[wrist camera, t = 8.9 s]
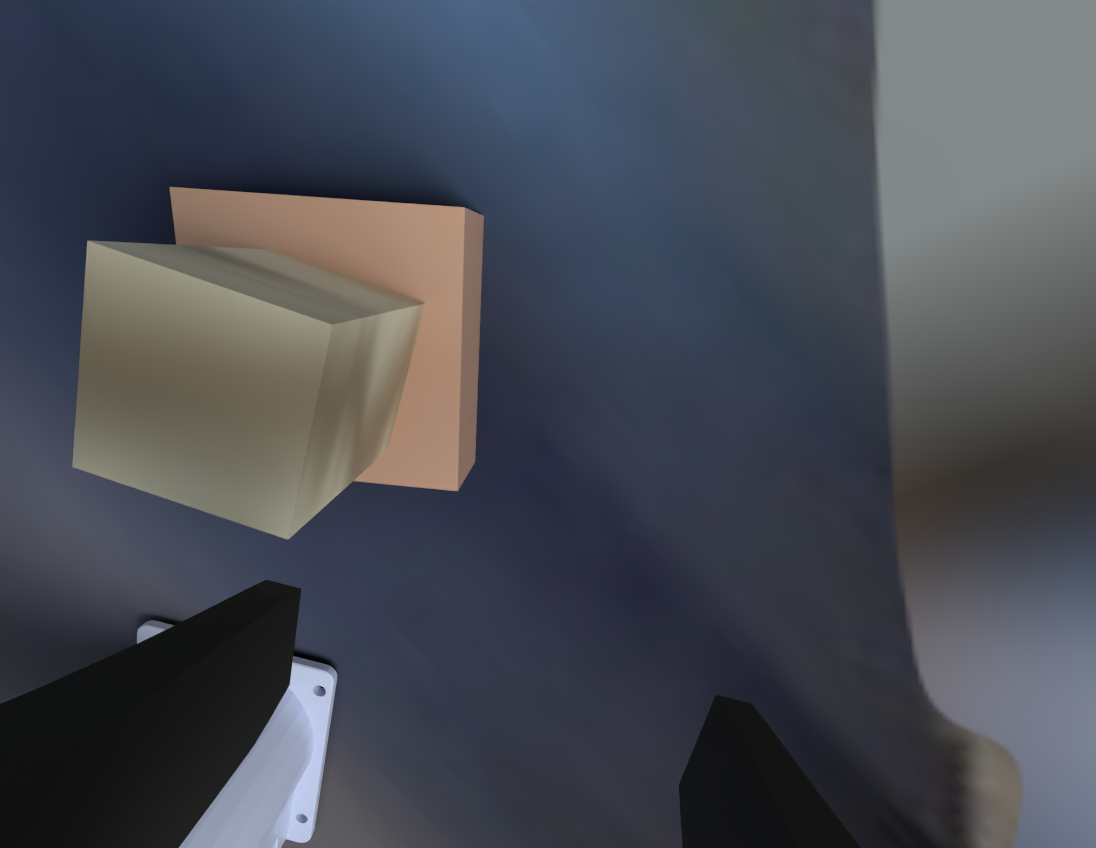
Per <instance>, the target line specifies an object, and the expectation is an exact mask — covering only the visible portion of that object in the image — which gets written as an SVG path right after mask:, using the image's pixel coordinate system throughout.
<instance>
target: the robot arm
mask: <svg viewBox="0 0 1096 848" xmlns="http://www.w3.org/2000/svg"><path fill="white" fill-rule="evenodd" d="M300 594H301V589H300V588H296V587H292V586H288V585H285V584H281V583H277V582H273V581H269V580H265V581H263V582H261V583H259V584H257V585H254V586H252V587H250V588H248V589H246V590H244V591H242V592H240V593H238V594H236V595H234V596H232V597H230V598H228V599H226V600H224V601H222V602H220V603H218V604H216V605H215V606H213V607H211V608H209V609H207V610H205V611H203V612H201V613H199V614H197V615H195V616H193V617H191V618H189V619H187V620H185V621H183V622H181V623H179V624H177V625H171V624H167V623H163V622H159V621H154V620H150V621H147V622H145V623H144V624H143V625H142V626H141V627H140V628H139V629H138V631H137V644H136V645H134V646H132V647H129V648H127V649H125V650H123V651H121V652H118V653H116V654H114V655H112V656H110V657H107V658H105V659H103V660H101V661H98V662H96V663H94V664H92V665H89V666H87V667H85V668H83V669H81V670H78V671H76V672H74V673H72V674H69V675H67V676H65V677H63V678H60V679H58V680H56V681H54V682H52V683H49V684H47V685H45V686H43V687H40V688H38V689H36V690H33V691H31V692H28V693H26V694H24V695H21V696H19V697H16V698H14V699H11V700H9V701H7V702H4V703H2V704H0V848H281V847H282V845H283V843H284V841H285V839H288V840H292V841H295V842H301V843H303V842H307V841H308V840H310V838H311V836H312V834H313V832H314V829H315V823H316V816H317V809H318V803H319V796H320V789H321V783H322V776H323V769H324V763H325V756H326V749H327V742H328V736H329V729H330V722H331V716H332V709H333V702H334V696H335V689H336V682H337V673H336V671H335V670H334V669H333V668H332V667H331V666H329V665H326V664H323V663H319V662H315V661H311V660H307V659H303V658H299V657H295V656H293V653H294V645H295V636H296V628H297V619H298V611H299V602H300ZM320 686H322V687H324V689H323V688H321V687H320ZM679 795H680V814H681V830H682V843H683V848H861V847H860V846H859V845H858V843H857V842H856V841H855V840H854V838H853V837H852V836H851V834H850V833H849V832H848V831H847V829H846V828H845V827H844V825H843V824H842V823H841V821H840V820H839V819H838V818H837V816H836V815H835V814H834V812H833V811H832V810H831V808H830V807H829V806H828V805H827V803H826V802H825V801H824V799H823V798H822V797H821V795H820V794H819V793H818V791H817V790H816V789H815V787H814V786H813V785H812V783H811V782H810V781H809V779H808V778H807V777H806V775H805V774H804V773H803V771H802V770H801V768H800V767H799V766H798V764H797V763H796V762H795V760H794V759H793V758H792V756H791V755H790V754H789V752H788V751H787V750H786V748H785V747H784V746H783V744H782V743H781V742H780V740H779V739H778V738H777V736H776V735H775V734H774V732H773V731H772V730H771V728H770V727H769V726H768V724H767V723H766V722H765V720H764V719H763V718H762V716H761V715H760V714H759V713H758V711H757V710H756V709H755V708H754V706H753V705H752V704H750V703H746V702H742V701H738V700H735V699H731V698H727V697H723V696H719V695H716V696H715V698H714V701H713V703H712V706H711V708H710V711H709V713H708V715H707V718H706V720H705V723H704V725H703V728H702V730H701V732H700V735H699V737H698V740H697V742H696V745H695V747H694V750H693V752H692V754H691V757H690V759H689V762H688V764H687V767H686V769H685V771H684V774H683V776H682V779H681V781H680V784H679Z"/></svg>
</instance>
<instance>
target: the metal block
mask: <svg viewBox="0 0 1096 848" xmlns="http://www.w3.org/2000/svg"><path fill="white" fill-rule="evenodd" d="M424 307H425V303H422V302H419V301H416V300H414V299H411V298H408V297H405V296H402V295H399V294H396V293H393V292H390V291H388V290H385V289H382V288H379V287H376V286H373V285H370V284H367V283H364V282H362V281H359V280H356V279H353V278H350V277H347V276H344V275H341V274H338V273H336V272H333V271H330V270H327V269H324V268H321V267H318V266H315V265H312V264H310V263H307V262H304V261H301V260H298V259H295V258H292V257H289V256H286V255H284V254H281V253H278V252H275V251H272V250H269V249H253V248H232V247H212V246H191V245H170V244H149V243H129V242H108V241H87V255H86V270H85V285H84V300H83V315H82V330H81V345H80V360H79V375H78V390H77V405H76V421H75V436H74V451H73V466H72V467H74V468H77V469H80V470H83V471H86V472H89V473H92V474H95V475H98V476H101V477H104V478H107V479H109V480H112V481H115V482H118V483H121V484H124V485H127V486H130V487H133V488H136V489H139V490H142V491H145V492H148V493H151V494H154V495H157V496H160V497H163V498H166V499H169V500H172V501H175V502H178V503H181V504H184V505H187V506H190V507H193V508H196V509H199V510H201V511H204V512H207V513H210V514H213V515H216V516H219V517H222V518H225V519H228V520H231V521H234V522H237V523H240V524H243V525H246V526H249V527H252V528H255V529H258V530H261V531H264V532H267V533H270V534H273V535H276V536H279V537H282V538H285V539H289V538H290V537H291V536H293V535H294V534H295V533H296V532H297V531H298V530H299V529H300V528H301V527H303V526H304V525H305V524H306V523H307V522H308V521H309V520H310V519H311V518H313V517H314V516H315V515H316V514H317V513H318V512H319V511H320V510H321V509H323V508H324V507H325V506H326V505H327V504H328V503H329V502H330V501H331V500H333V499H334V498H335V497H336V496H337V495H338V494H339V493H340V492H341V491H343V490H344V489H345V488H346V487H347V486H348V485H349V484H350V483H351V482H353V481H354V480H355V479H356V478H357V477H358V476H359V475H360V474H361V473H363V472H364V471H365V470H366V469H367V468H368V467H369V466H370V465H371V464H373V463H374V462H375V461H376V460H377V459H378V458H379V457H380V456H381V455H383V454H384V453H385V452H386V451H387V450H388V447H389V443H390V439H391V435H392V431H393V427H394V423H395V419H396V416H397V412H398V408H399V404H400V400H401V396H402V392H403V388H404V384H405V381H406V377H407V373H408V369H409V365H410V361H411V357H412V353H413V349H414V346H415V342H416V338H417V334H418V330H419V326H420V322H421V318H422V314H423V311H424Z"/></svg>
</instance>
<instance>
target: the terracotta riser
mask: <svg viewBox="0 0 1096 848" xmlns="http://www.w3.org/2000/svg"><path fill="white" fill-rule="evenodd" d="M170 196H171V204H172V212H173V221H174V229H175V237H176V245H191V246H212V247H232V248H253V249H269V250H272V251H275V252H278V253H281V254H284V255H286V256H289V257H292V258H295V259H298V260H301V261H304V262H307V263H310V264H312V265H315V266H318V267H321V268H324V269H327V270H330V271H333V272H336V273H338V274H341V275H344V276H347V277H350V278H353V279H356V280H359V281H362V282H364V283H367V284H370V285H373V286H376V287H379V288H382V289H385V290H388V291H390V292H393V293H396V294H399V295H402V296H405V297H408V298H411V299H414V300H416V301H419V302H422V303H425V307H424V311H423V314H422V318H421V322H420V326H419V330H418V334H417V338H416V342H415V346H414V349H413V353H412V357H411V361H410V365H409V369H408V373H407V377H406V381H405V384H404V388H403V392H402V396H401V400H400V404H399V408H398V412H397V416H396V419H395V423H394V427H393V431H392V435H391V439H390V443H389V447H388V450H387V451H386V452H385V453H384V454H383V455H381V456H380V457H379V458H378V459H377V460H376V461H375V462H374V463H373V464H371V465H370V466H369V467H368V468H367V469H366V470H365V471H364V472H363V473H361V474H360V475H359V476H358V477H357V478H356V479H355V480H354V481H359V482H369V483H379V484H390V485H400V486H410V487H420V488H430V489H441V490H451V491H458V490H459V488H460V487H461V485H462V483H463V481H464V480H465V478H466V476H467V475H468V473H469V471H470V470H471V468H472V466H473V464H474V463H475V450H476V421H477V393H478V365H479V336H480V308H481V280H482V251H483V223H484V216H483V215H481V214H478V213H476V212H474V211H472V210H469V209H467V208H465V207H452V206H437V205H423V204H409V203H394V202H380V201H366V200H351V199H337V198H323V197H308V196H294V195H280V194H265V193H251V192H237V191H222V190H208V189H194V188H179V187H170Z"/></svg>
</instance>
